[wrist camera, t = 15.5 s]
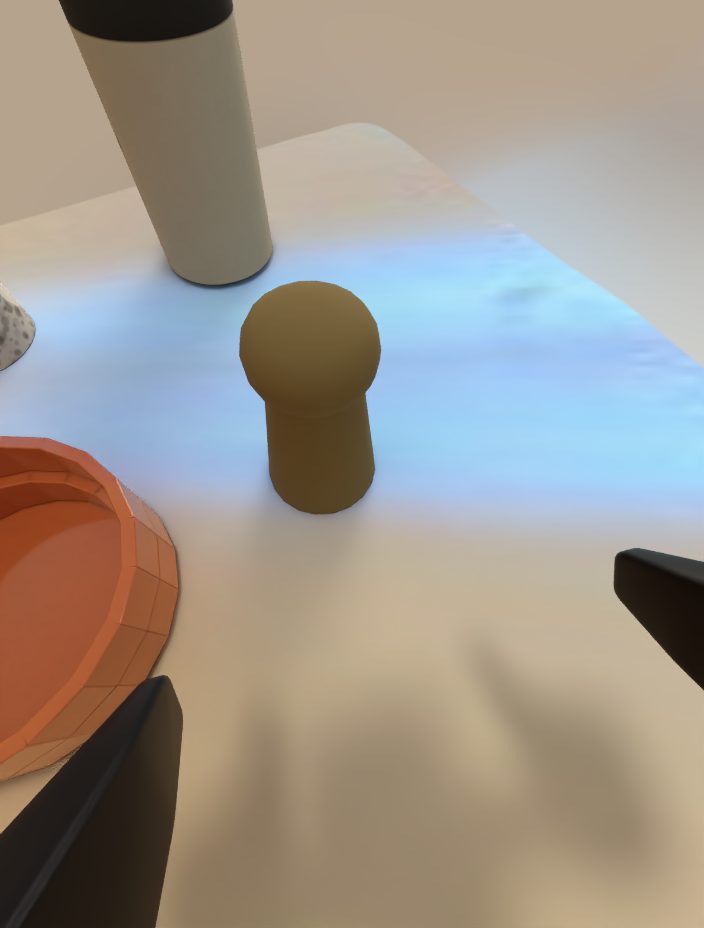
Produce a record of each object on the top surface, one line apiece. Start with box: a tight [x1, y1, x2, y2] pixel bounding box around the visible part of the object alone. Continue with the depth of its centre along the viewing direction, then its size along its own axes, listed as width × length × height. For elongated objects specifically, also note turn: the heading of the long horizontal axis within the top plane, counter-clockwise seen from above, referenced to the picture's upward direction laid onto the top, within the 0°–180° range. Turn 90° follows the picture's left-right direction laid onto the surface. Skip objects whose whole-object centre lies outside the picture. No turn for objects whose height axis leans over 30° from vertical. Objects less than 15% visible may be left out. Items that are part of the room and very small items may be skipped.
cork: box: [239, 281, 381, 514], centre depth 19 cm, size 6×6×11 cm
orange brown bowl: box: [0, 436, 178, 782], centre depth 17 cm, size 13×13×5 cm
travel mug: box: [59, 0, 272, 285], centre depth 24 cm, size 8×8×18 cm
